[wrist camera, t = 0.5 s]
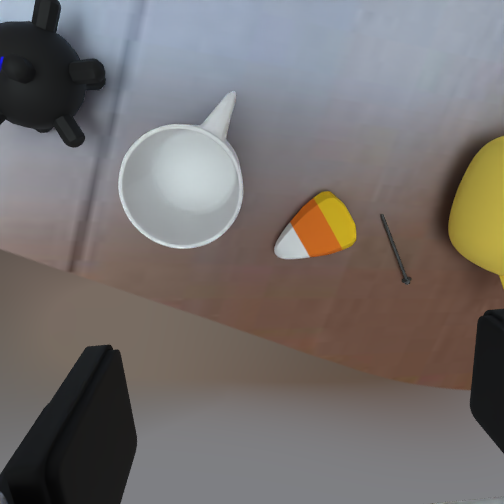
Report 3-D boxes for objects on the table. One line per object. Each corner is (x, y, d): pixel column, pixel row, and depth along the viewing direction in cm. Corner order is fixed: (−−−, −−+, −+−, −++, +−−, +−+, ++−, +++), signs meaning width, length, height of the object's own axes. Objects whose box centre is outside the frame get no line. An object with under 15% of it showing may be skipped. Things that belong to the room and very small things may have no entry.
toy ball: (-60, -25, 30) (84, -51, 28) (34, 89, 40) (149, 78, 37) (-135, 75, 26) (29, 56, 23) (-8, 179, 35) (119, 173, 32)
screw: (402, 286, 42) (403, 281, 43) (412, 284, 42) (413, 279, 42) (375, 217, 40) (377, 213, 41) (385, 214, 40) (387, 210, 40)
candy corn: (366, 242, 38) (291, 283, 39) (359, 236, 41) (289, 275, 42) (336, 186, 37) (259, 230, 38) (331, 184, 40) (259, 225, 41)
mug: (276, 122, 38) (292, 121, 27) (213, 233, 40) (206, 269, 30) (192, 70, 36) (176, 48, 26) (132, 189, 39) (97, 212, 28)
